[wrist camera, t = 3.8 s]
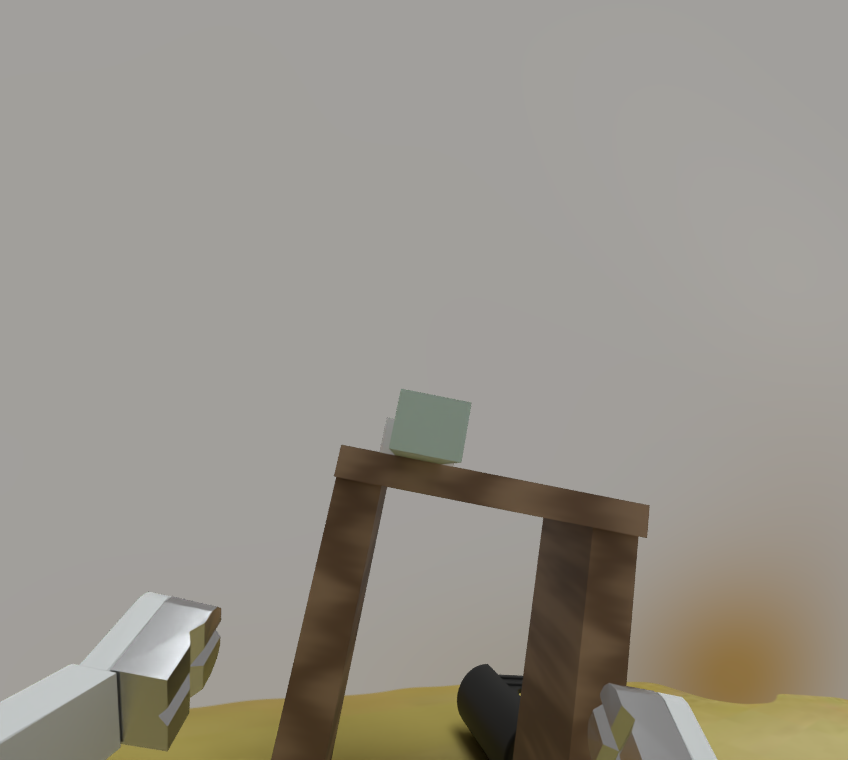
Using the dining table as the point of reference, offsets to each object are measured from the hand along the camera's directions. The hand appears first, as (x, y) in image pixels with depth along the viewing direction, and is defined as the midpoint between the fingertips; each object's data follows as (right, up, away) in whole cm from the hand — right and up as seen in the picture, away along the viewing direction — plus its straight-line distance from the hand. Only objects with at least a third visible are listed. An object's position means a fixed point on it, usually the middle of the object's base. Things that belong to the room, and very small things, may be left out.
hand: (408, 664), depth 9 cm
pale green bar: (0, 0, +20) cm, 20 cm away
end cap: (+8, -31, +31) cm, 45 cm away
